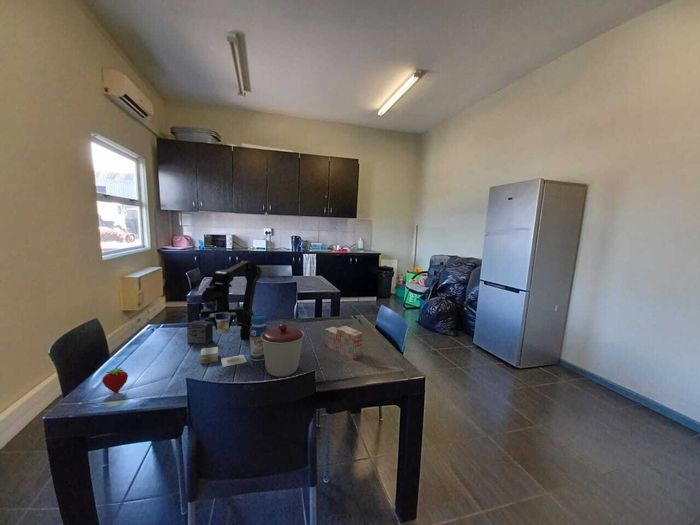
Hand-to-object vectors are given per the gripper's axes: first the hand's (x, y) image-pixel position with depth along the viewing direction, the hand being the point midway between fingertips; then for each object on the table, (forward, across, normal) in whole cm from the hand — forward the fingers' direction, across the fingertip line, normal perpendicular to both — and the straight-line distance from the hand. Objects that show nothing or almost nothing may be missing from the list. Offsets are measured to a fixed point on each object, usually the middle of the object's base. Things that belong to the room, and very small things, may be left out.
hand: (222, 329), depth 139 cm
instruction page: (+11, -4, +11) cm, 17 cm away
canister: (+12, -23, +27) cm, 38 cm away
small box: (+12, +11, -16) cm, 22 cm away
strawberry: (+12, +36, +23) cm, 44 cm away
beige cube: (+1, 0, 0) cm, 1 cm away
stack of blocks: (+11, -56, +17) cm, 59 cm away
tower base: (+11, +6, +6) cm, 14 cm away
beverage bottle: (+12, -15, +11) cm, 22 cm away
